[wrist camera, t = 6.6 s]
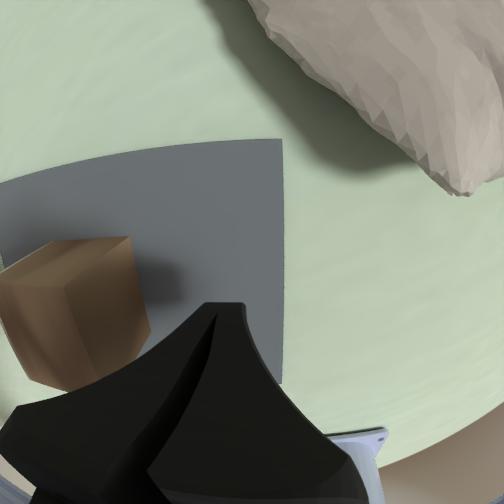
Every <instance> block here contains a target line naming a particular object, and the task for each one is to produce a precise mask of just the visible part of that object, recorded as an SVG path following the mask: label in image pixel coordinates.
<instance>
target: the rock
mask: <svg viewBox="0 0 504 504" xmlns="http://www.w3.org/2000/svg"><path fill="white" fill-rule="evenodd" d="M247 1H248V2H249V4H250V5H251V7H252V9H253V11H254V13H255V15H256V18H257V20H258V21H259V23H260V24H261V25H262V26H263V28H264V29H265V32H266V34H267V37H268V38H269V39H271V40H272V41H273V42H274V43H275V44H276V45H277V46H278V47H280V48H281V49H282V50H283V51H284V52H285V53H286V54H288V55H289V57H291V58H292V59H293V60H294V61H295V62H296V63H297V64H298V65H299V66H300V67H301V69H302V70H303V71H304V73H305V74H306V75H307V76H309V77H310V78H312V79H313V80H315V81H316V82H318V83H320V84H321V85H323V86H325V87H327V88H328V89H330V90H332V91H334V92H335V93H337V94H338V95H340V96H341V97H342V98H343V99H344V100H346V101H347V102H348V103H349V104H350V105H351V106H353V107H354V108H355V109H356V110H357V112H358V114H359V115H360V117H361V118H362V119H363V120H364V121H365V122H366V123H367V124H368V125H369V126H370V127H372V128H373V129H374V130H376V131H377V132H378V133H379V134H381V135H383V136H384V137H386V138H387V139H389V140H390V141H392V142H394V143H395V144H396V145H397V146H398V147H400V148H401V149H402V150H403V151H404V152H405V153H406V154H407V155H409V156H410V157H411V158H412V159H413V160H414V161H415V162H416V163H417V164H418V165H419V166H420V167H421V168H422V170H423V171H424V172H425V173H426V174H427V175H428V176H429V177H430V178H431V179H432V180H433V181H435V182H436V183H437V184H438V185H439V186H440V187H442V188H443V189H444V190H445V191H446V192H447V193H448V194H450V195H451V196H452V194H453V193H454V194H455V195H456V196H467V197H470V196H471V195H472V194H473V193H474V189H475V188H476V187H478V186H479V185H480V184H482V183H483V182H491V181H493V180H495V179H497V178H500V177H504V0H247Z"/></svg>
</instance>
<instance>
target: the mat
mask: <svg viewBox="0 0 504 504" xmlns="http://www.w3.org/2000/svg"><path fill="white" fill-rule="evenodd" d="M123 236H130V239H131V244H132V250H133V255H134V260H135V265H136V270H137V275H138V279H139V284H140V288H141V293H142V297H143V301H144V305H145V309H146V313H147V317H148V321H149V325H150V328H151V333H150V335H149V337H148V339H147V340H146V342H145V344H144V346H143V347H142V349H141V351H140V353H139V354H138V356H137V358H139V357H140V356H142V355H143V354H145V353H146V352H147V351H149V350H150V349H151V348H153V347H154V346H155V345H156V344H158V343H159V342H160V341H162V340H163V339H164V338H165V337H167V336H168V335H169V334H170V333H172V332H173V331H174V330H175V329H176V328H177V327H178V326H179V325H181V324H182V323H183V322H184V321H185V320H186V319H187V318H188V317H189V316H190V315H191V314H193V313H194V312H195V311H196V310H197V309H198V308H199V307H200V306H201V305H202V304H203V303H205V302H243V303H244V304H245V305H246V313H247V323H248V326H249V330H250V332H251V335H252V338H253V340H254V343H255V345H256V347H257V349H258V351H259V353H260V355H261V357H262V359H263V361H264V363H265V365H266V366H267V368H268V370H269V371H270V373H271V374H272V376H273V377H274V379H275V380H276V382H277V383H278V384H282V360H283V319H284V192H283V151H282V139H255V140H234V141H218V142H206V143H195V144H185V145H176V146H167V147H159V148H152V149H145V150H138V151H132V152H126V153H120V154H114V155H109V156H104V157H98V158H93V159H89V160H84V161H79V162H75V163H71V164H66V165H62V166H58V167H54V168H50V169H46V170H43V171H39V172H35V173H32V174H28V175H25V176H22V177H18V178H15V179H12V180H9V181H6V182H3V183H0V252H1V256H2V260H3V263H4V267H5V269H6V268H7V267H9V266H11V265H12V264H14V263H15V262H17V261H19V260H20V259H22V258H24V257H25V256H27V255H29V254H31V253H32V252H34V251H36V250H37V249H39V248H41V247H43V246H44V245H46V244H48V243H50V242H53V241H65V240H79V239H93V238H107V237H123ZM137 358H136V359H137Z"/></svg>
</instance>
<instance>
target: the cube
mask: <svg viewBox="0 0 504 504" xmlns="http://www.w3.org/2000/svg"><path fill="white" fill-rule="evenodd" d="M0 323H1V325H2V328H3V330H4V332H5V334H6V336H7V338H8V341H9V343H10V345H11V347H12V349H13V351H14V353H15V355H16V357H17V358H18V360H19V362H20V364H21V366H22V368H23V370H24V371H25V373H26V375H27V377H28V378H29V380H32V381H35V382H38V383H41V384H44V385H47V386H50V387H53V388H56V389H59V390H62V391H66V392H71V391H74V390H77V389H79V388H82V387H84V386H87V385H89V384H91V383H94V382H96V381H98V380H100V379H102V378H104V377H106V376H108V375H110V374H112V373H113V372H115V371H117V370H119V369H121V368H123V367H124V366H126V365H128V364H129V363H131V362H132V361H134V360H136V358H137V356H138V354H139V353H140V351H141V349H142V347H143V346H144V344H145V342H146V340H147V339H148V337H149V335H150V333H151V328H150V325H149V321H148V317H147V313H146V309H145V305H144V301H143V297H142V293H141V288H140V284H139V279H138V275H137V270H136V265H135V260H134V255H133V250H132V244H131V239H130V236H123V237H107V238H93V239H79V240H65V241H53V242H50V243H48V244H46V245H44V246H43V247H41V248H39V249H37V250H36V251H34V252H32V253H31V254H29V255H27V256H25V257H24V258H22V259H20V260H19V261H17V262H15V263H14V264H12V265H11V266H9V267H7V268H6V269H4V270H3V271H1V272H0Z"/></svg>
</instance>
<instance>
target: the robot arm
mask: <svg viewBox="0 0 504 504" xmlns="http://www.w3.org/2000/svg"><path fill="white" fill-rule="evenodd" d="M388 435H389V432H388V429H379V430H373V431H367V432H361V433H354V434H347V435H339V436H330V437H326V436H325V435H324V434H323V433H322V432H321V431H319V430H318V429H317V428H316V427H315V426H314V425H313V424H312V423H311V422H310V421H309V420H308V419H307V418H306V417H305V416H304V415H303V414H302V412H301V411H300V410H299V409H298V408H297V407H296V406H295V404H294V403H293V402H292V401H291V400H290V399H289V398H288V396H287V395H286V394H285V393H284V391H283V390H282V389H281V387H280V386H279V385H278V383H277V382H276V380H275V379H274V377H273V376H272V374H271V373H270V371H269V370H268V368H267V366H266V365H265V363H264V361H263V359H262V357H261V355H260V353H259V351H258V349H257V347H256V345H255V343H254V340H253V338H252V335H251V332H250V330H249V326H248V323H247V313H246V305H245V304H244V303H243V302H205V303H203V304H202V305H201V306H200V307H199V308H198V309H197V310H196V311H195V312H194V313H193V314H191V315H190V316H189V317H188V318H187V319H186V320H185V321H184V322H183V323H182V324H181V325H179V326H178V327H177V328H176V329H175V330H174V331H173V332H172V333H170V334H169V335H168V336H167V337H165V338H164V339H163V340H162V341H160V342H159V343H158V344H156V345H155V346H154V347H153V348H151V349H150V350H149V351H147V352H146V353H145V354H143V355H142V356H140V357H139V358H137V359H136V360H134V361H132V362H131V363H129V364H128V365H126V366H124V367H123V368H121V369H119V370H117V371H115V372H113V373H112V374H110V375H108V376H106V377H104V378H102V379H100V380H98V381H96V382H94V383H91V384H89V385H87V386H84V387H82V388H79V389H77V390H74V391H71V392H69V393H66V394H63V395H60V396H57V397H53V398H50V399H46V400H42V401H38V402H34V403H29V404H25V405H19V406H17V407H16V408H15V410H14V411H13V413H12V414H11V415H10V417H9V418H8V420H7V421H6V423H5V424H4V426H3V427H2V429H1V430H0V454H1V455H2V456H3V457H4V458H5V459H6V461H7V462H8V463H9V464H11V465H12V466H13V467H14V468H15V469H16V470H17V471H18V472H19V473H20V474H21V475H22V476H24V477H25V478H26V479H27V480H28V481H29V482H31V483H32V484H33V485H34V486H35V487H37V488H36V490H35V492H34V494H33V496H30V495H29V494H27V493H26V492H24V491H23V490H21V489H19V488H18V487H17V486H15V485H14V484H12V483H11V482H9V481H8V480H6V479H5V478H4V477H2V476H1V475H0V504H385V499H384V495H383V490H382V486H381V482H380V478H379V473H378V469H377V465H376V460H375V457H376V456H377V454H378V452H379V451H380V449H381V447H382V445H383V444H384V442H385V440H386V438H387V436H388ZM488 504H504V494H502V495H501V496H499V497H498V498H496V499H494V500H493V501H491V502H489V503H488Z"/></svg>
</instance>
